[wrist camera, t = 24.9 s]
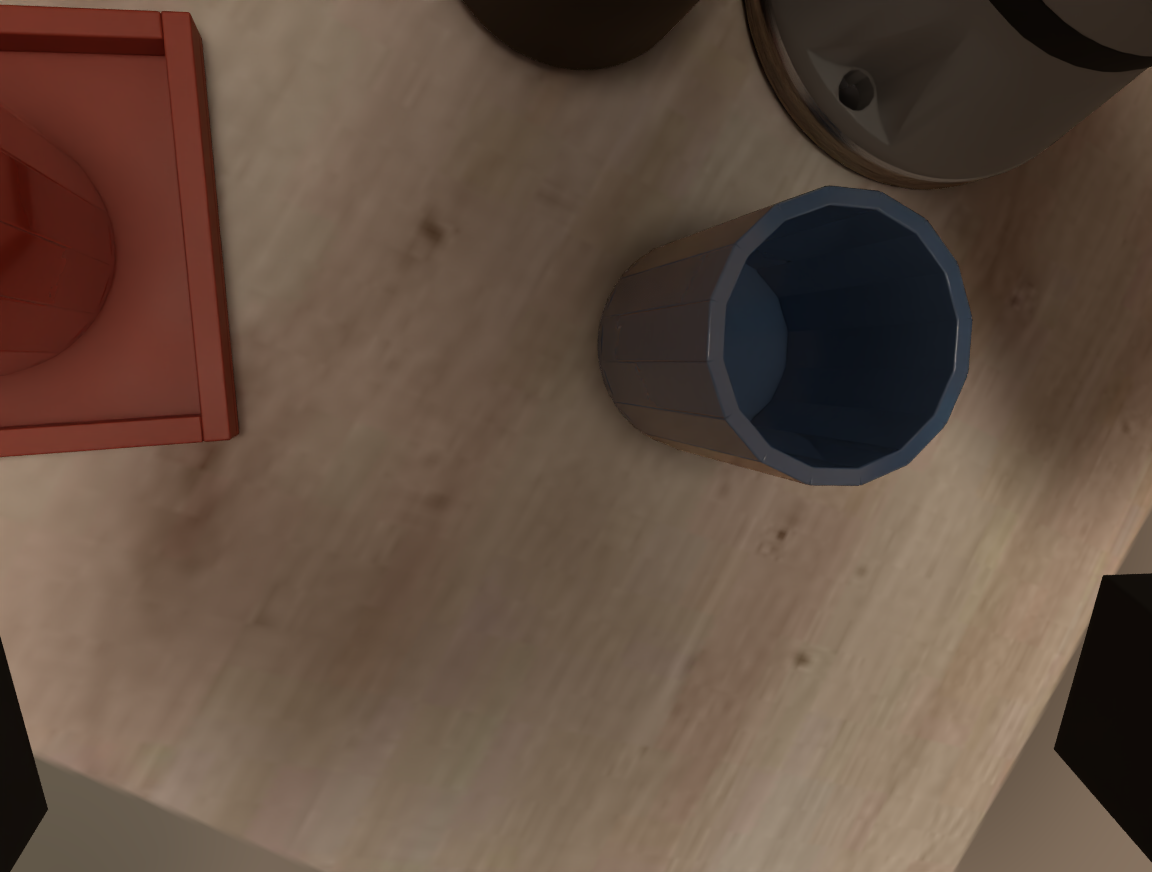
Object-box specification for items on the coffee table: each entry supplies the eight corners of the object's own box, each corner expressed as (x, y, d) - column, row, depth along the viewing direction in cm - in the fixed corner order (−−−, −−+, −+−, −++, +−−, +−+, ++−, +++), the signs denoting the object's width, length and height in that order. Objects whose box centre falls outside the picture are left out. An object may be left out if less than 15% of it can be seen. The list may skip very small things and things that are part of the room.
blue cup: (756, 212, 32) (928, 149, 23) (814, 406, 34) (1001, 424, 24) (567, 278, 31) (667, 241, 21) (636, 479, 32) (760, 530, 22)
